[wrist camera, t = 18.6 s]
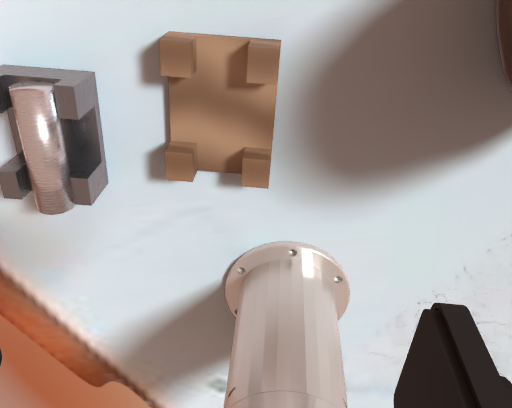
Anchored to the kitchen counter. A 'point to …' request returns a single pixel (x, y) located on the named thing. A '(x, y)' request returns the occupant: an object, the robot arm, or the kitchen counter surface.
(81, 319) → the kitchen counter surface
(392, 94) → the kitchen counter surface
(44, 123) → the steel axle
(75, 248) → the kitchen counter surface
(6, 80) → the V-block
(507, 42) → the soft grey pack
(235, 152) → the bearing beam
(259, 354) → the robot arm
